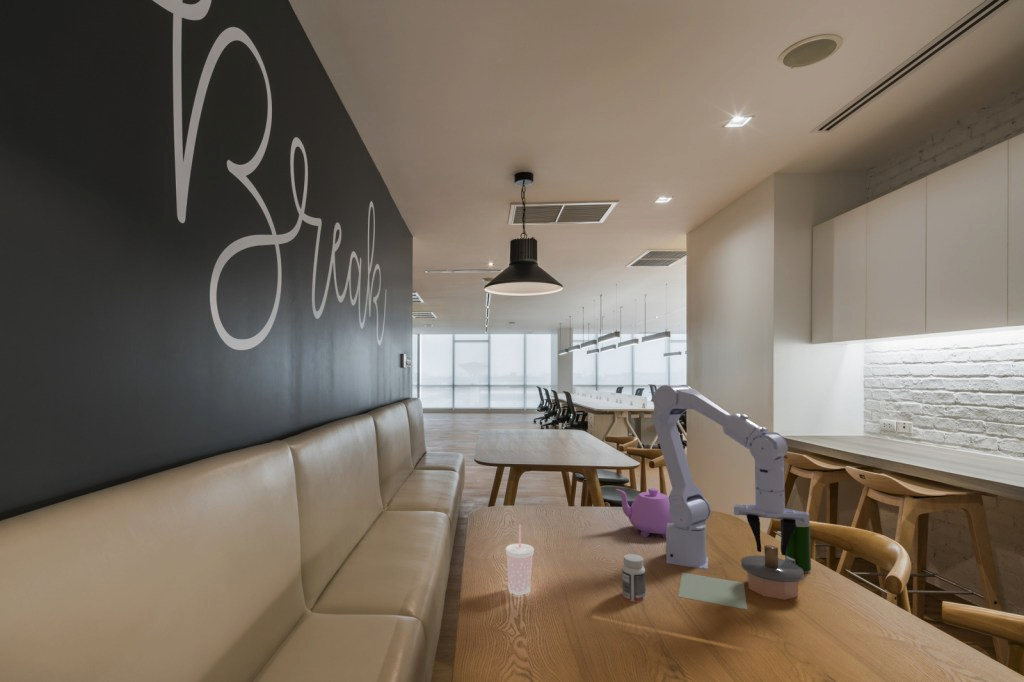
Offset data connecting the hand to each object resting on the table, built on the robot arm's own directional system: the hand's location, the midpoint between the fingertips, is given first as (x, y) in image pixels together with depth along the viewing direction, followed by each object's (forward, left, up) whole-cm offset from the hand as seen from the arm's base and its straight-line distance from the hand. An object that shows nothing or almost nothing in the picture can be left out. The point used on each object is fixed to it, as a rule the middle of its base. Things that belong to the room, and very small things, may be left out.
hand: (771, 552), depth 104 cm
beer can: (+7, +15, -8) cm, 19 cm away
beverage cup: (-50, -23, -8) cm, 56 cm away
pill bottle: (-27, -16, -8) cm, 32 cm away
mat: (-12, -6, -8) cm, 16 cm away
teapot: (-29, +28, -8) cm, 41 cm away
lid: (0, 0, -4) cm, 4 cm away
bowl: (0, 0, -8) cm, 8 cm away
